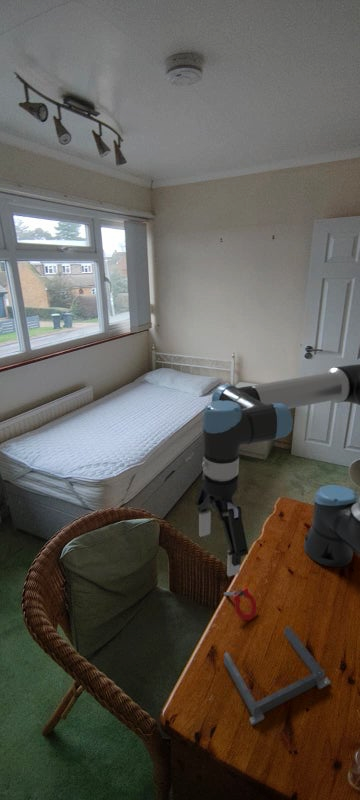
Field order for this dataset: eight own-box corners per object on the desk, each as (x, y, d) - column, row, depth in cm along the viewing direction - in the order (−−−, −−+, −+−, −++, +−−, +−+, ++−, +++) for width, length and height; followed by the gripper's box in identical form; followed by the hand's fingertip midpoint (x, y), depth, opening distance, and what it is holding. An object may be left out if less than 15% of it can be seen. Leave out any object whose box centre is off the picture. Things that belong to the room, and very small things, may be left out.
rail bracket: (290, 632, 99) (291, 624, 98) (329, 684, 87) (331, 675, 86) (220, 664, 91) (220, 655, 90) (252, 725, 79) (252, 716, 78)
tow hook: (243, 625, 100) (231, 597, 102) (223, 623, 109) (212, 597, 110) (261, 612, 104) (248, 585, 106) (240, 610, 112) (229, 586, 114)
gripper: (180, 451, 89) (181, 524, 97) (235, 510, 68) (231, 599, 75) (208, 445, 92) (207, 517, 99) (270, 500, 71) (263, 587, 78)
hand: (217, 552), depth 87 cm, fingers open, 13 cm apart
